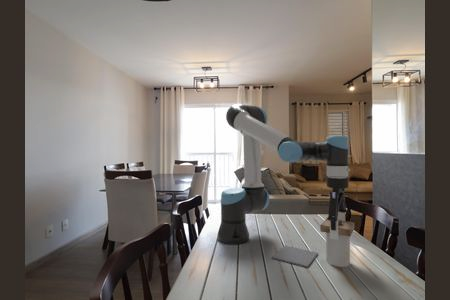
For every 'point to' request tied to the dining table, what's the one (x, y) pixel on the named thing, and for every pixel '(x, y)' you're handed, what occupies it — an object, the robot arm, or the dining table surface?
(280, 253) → the mat
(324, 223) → the lid
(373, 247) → the dining table surface
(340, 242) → the cup
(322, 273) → the dining table surface
